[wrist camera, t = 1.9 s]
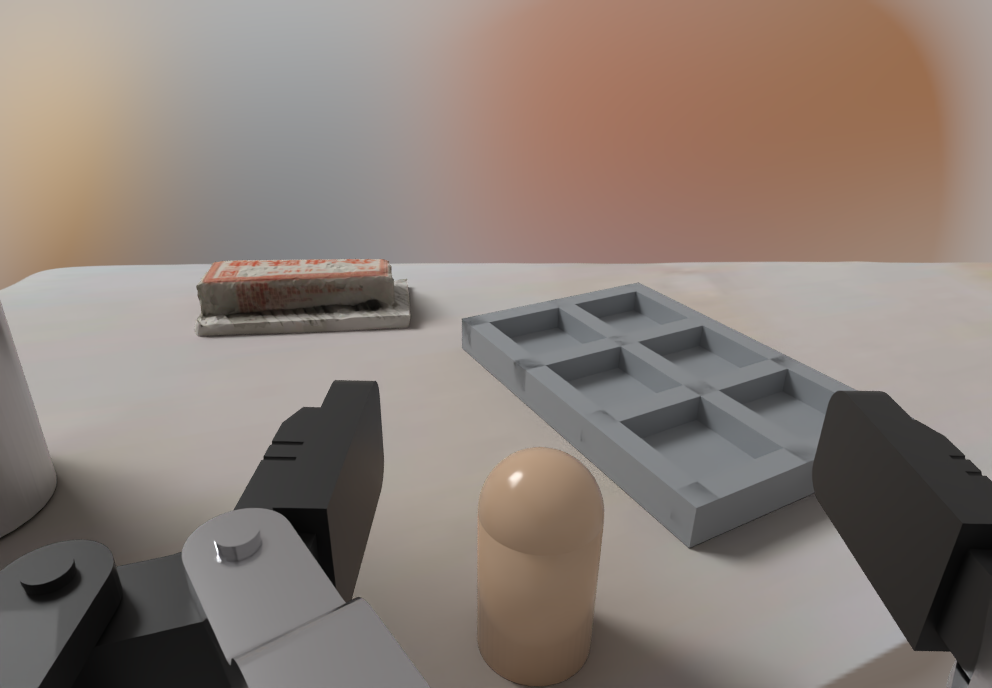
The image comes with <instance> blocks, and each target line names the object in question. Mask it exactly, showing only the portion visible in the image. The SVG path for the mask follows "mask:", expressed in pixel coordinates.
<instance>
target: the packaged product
mask: <svg viewBox="0 0 992 688" xmlns="http://www.w3.org/2000/svg"><path fill="white" fill-rule="evenodd" d="M196 287H197V290H198V298H199V300H200V305H201V314H200V316H199V317H198V319H197V320H195V329H194V330H195V333H196V335H197V336H213V335H233V334H275V333H303V332H331V331H353V330H371V329H390V328H405V327H409V322H410V317H411V314H410V307H409V302H410V299H409V290H408V284H407V279H402V280H397V281H394V279H393V278H392V273H391V265H390V264H389V261H387V260H384V259H364V260H363V259H337V260H322V259H318V260H314V259H312V260H268V261H267V260H251V261H248V260H240V261H221V262H214V263H213V264H212V266H211V268H210V269H209V271H208V272H207V273H205V275H204V276H203V277H202V279H201V281H200V282H199V283H198V285H197V286H196Z"/></svg>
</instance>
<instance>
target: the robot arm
mask: <svg viewBox="0 0 992 688" xmlns="http://www.w3.org/2000/svg"><path fill="white" fill-rule="evenodd" d="M383 472H384V452H383V437H382V423H381V409H380V395H379V387H378V384H377V382H376V381H346V380H335V381H334V382H333V383H332V385H331V387H330V389H329V391H328V393H327V395H326V397H325V399H324V401H323V404H322V406H321V407H303V408H301V409H300V410H299V411H297V412H296V413H295V414H293V415H292V416H291V417H289V418H288V419H287V420H285V421H284V422H283V423H282V424H281V426H280V428H279V430H278V431H277V433H276V435H275V437H274V439H273V440H272V445H270V446H269V448H268V449H267V451H266V453H265V455H264V459H263V460H261V462H260V464H259V465H258V467H257V469H256V471H255V473H254V474H253V476H252V478H251V480H250V482H249V483H248V485H247V487H246V489H245V491H244V492H243V494H242V496H241V498H240V500H239V501H238V503H237V505H236V507H235V508H234V510H233V511H230V512H227V513H224V514H221V515H219V516H216V517H214V518H212V519H210V520H209V521H207V522H205V523H204V524H202V525H201V526H199V527H198V528H197V529H196V530H195V531H194V532H193V533H192V534H191V535H190V536H189V537H188V539H187V540H186V542H185V544H184V546H183V550H182V552H180V553H177V554H174V555H170V556H166V557H161V558H156V559H151V560H147V561H142V562H137V563H132V564H127V565H122V566H117V567H116V565H115V562H114V558H113V555H112V553H111V551H110V550H109V549H108V547H106V546H105V545H103V544H101V543H99V542H96V541H91V540H68V541H62V542H57V543H54V544H50V545H47V546H44V547H41V548H38V549H36V550H34V551H31V552H29V553H27V554H25V555H23V556H22V557H20V558H18V559H16V560H15V561H13V562H12V563H10V564H9V565H7V566H6V567H5V568H4V569H3V570H1V571H0V688H430V686H429V685H428V683H427V682H426V681H425V679H424V678H423V677H422V675H421V674H420V673H419V671H418V670H417V668H416V667H415V666H414V664H413V663H412V662H411V660H410V659H409V658H408V656H407V655H406V653H405V652H404V651H403V649H402V648H401V647H400V645H399V644H398V642H397V641H396V640H395V638H394V637H393V636H392V634H391V633H390V632H389V630H388V629H387V627H386V626H385V625H384V623H383V622H382V621H381V619H380V618H379V616H378V615H377V614H376V612H375V611H374V610H373V608H372V607H371V606H370V605H369V604H368V603H367V602H366V601H365V600H364V599H363V598H360V597H357V598H355V599H353V600H352V596H353V592H354V589H355V585H356V581H357V577H358V574H359V570H360V566H361V563H362V559H363V555H364V552H365V548H366V544H367V540H368V537H369V533H370V529H371V526H372V522H373V518H374V515H375V511H376V507H377V503H378V500H379V496H380V492H381V488H382V482H383ZM812 482H813V488H814V492H815V495H816V497H817V499H818V501H819V503H820V504H821V506H822V508H823V509H824V511H825V512H826V514H827V515H828V517H829V519H830V520H831V522H832V523H833V525H834V526H835V528H836V529H837V531H838V533H839V534H840V536H841V537H842V539H843V540H844V542H845V544H846V545H847V547H848V548H849V550H850V551H851V553H852V554H853V556H854V558H855V559H856V561H857V562H858V564H859V565H860V567H861V569H862V570H863V572H864V573H865V575H866V576H867V578H868V580H869V581H870V583H871V584H872V586H873V587H874V589H875V590H876V592H877V594H878V595H879V597H880V598H881V600H882V601H883V603H884V605H885V606H886V608H887V609H888V611H889V612H890V614H891V616H892V617H893V619H894V620H895V622H896V623H897V625H898V626H899V628H900V630H901V631H902V633H903V634H904V636H905V637H906V639H907V641H908V642H909V644H910V645H911V647H912V648H913V650H914V651H950V652H951V653H952V654H953V655H954V657H955V658H956V661H955V663H954V665H953V667H952V670H951V672H950V675H949V677H948V681H947V686H946V688H992V481H991V480H990V479H989V478H988V477H987V476H982V474H981V471H980V470H979V469H978V468H977V467H976V466H975V465H974V464H973V463H972V462H971V461H970V460H965V455H964V454H963V453H962V452H961V451H960V450H959V449H958V448H957V447H956V446H954V445H953V444H952V443H951V442H950V441H949V440H948V439H947V438H946V437H945V436H943V435H942V434H940V433H938V432H936V431H935V430H933V429H931V428H929V427H928V426H926V425H924V424H922V423H921V422H919V421H917V420H913V419H912V418H911V417H910V416H909V415H908V414H907V413H906V412H905V411H904V410H903V409H902V408H901V407H900V406H899V405H898V404H897V403H896V402H895V401H894V400H893V399H892V398H891V397H890V396H889V395H888V394H887V393H885V392H882V391H836V392H835V393H834V394H833V395H832V396H831V398H830V400H829V403H828V407H827V411H826V415H825V418H824V422H823V426H822V430H821V434H820V438H819V442H818V446H817V450H816V454H815V458H814V462H813V468H812ZM56 485H57V475H56V472H55V469H54V466H53V463H52V460H51V457H50V454H49V450H48V447H47V444H46V441H45V438H44V435H43V432H42V429H41V426H40V423H39V419H38V415H37V412H36V409H35V406H34V403H33V400H32V397H31V394H30V391H29V388H28V385H27V381H26V378H25V375H24V372H23V369H22V366H21V363H20V360H19V357H18V354H17V350H16V347H15V344H14V341H13V338H12V335H11V332H10V329H9V326H8V323H7V319H6V316H5V313H4V310H3V307H2V304H1V301H0V538H1V537H2V536H4V535H6V534H8V533H10V532H11V531H13V530H15V529H16V528H18V527H19V526H21V525H22V524H23V523H25V522H26V521H28V520H29V519H31V518H32V517H33V516H34V515H35V514H36V513H37V512H38V511H39V510H41V509H42V508H43V507H44V506H45V504H46V503H47V502H48V500H49V499H50V498H51V496H52V495H53V492H54V490H55V487H56Z"/></svg>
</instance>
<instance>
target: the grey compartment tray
mask: <svg viewBox="0 0 992 688" xmlns="http://www.w3.org/2000/svg"><path fill="white" fill-rule="evenodd" d="M462 348H463V349H464V350H465V351H466V352H467V353H468V354H470V355H471V356H472V357H473V358H474V359H475V360H476V361H477V362H479V363H480V364H481V365H482V366H483V367H484V368H485V369H487V370H488V371H489V372H490V373H491V374H492V375H493V376H494V377H496V378H497V379H498V380H499V381H500V382H501V383H502V384H504V385H505V386H506V387H507V388H508V389H509V390H510V391H511V392H513V393H514V394H515V395H516V396H517V397H518V398H519V399H521V400H522V401H523V402H524V403H525V404H526V405H527V406H529V407H530V408H531V409H532V410H533V411H534V412H535V413H536V414H538V415H539V416H540V417H541V418H542V419H543V420H544V421H546V422H547V423H548V424H549V425H550V426H551V427H552V428H553V429H555V430H556V431H557V432H558V433H559V434H560V435H561V436H563V437H564V438H565V439H566V440H567V441H568V442H569V443H570V444H572V445H573V446H574V447H575V448H576V449H577V450H578V451H580V452H581V453H582V454H583V455H584V456H585V457H586V458H587V459H589V460H590V461H591V462H592V463H593V464H594V465H595V466H597V467H598V468H599V469H600V470H601V471H602V472H603V473H605V474H606V475H607V476H608V477H609V478H610V479H611V480H612V481H614V482H615V483H616V484H617V485H618V486H619V487H620V488H622V489H623V490H624V491H625V492H626V493H627V494H628V495H629V496H631V497H632V498H633V499H634V500H635V501H636V502H637V503H639V504H640V505H641V506H642V507H643V508H644V509H645V510H646V511H648V512H649V513H650V514H651V515H652V516H653V517H654V518H656V519H657V520H658V521H659V522H660V523H661V524H662V525H664V526H665V527H666V528H667V529H668V530H669V531H670V532H671V533H673V534H674V535H675V536H676V537H677V538H678V539H679V540H681V541H682V542H683V543H684V544H685V545H686V546H687V547H688V548H690V547H693V546H695V545H697V544H700V543H702V542H704V541H706V540H709V539H711V538H713V537H715V536H718V535H720V534H722V533H724V532H727V531H729V530H731V529H733V528H736V527H738V526H740V525H743V524H745V523H747V522H749V521H752V520H754V519H756V518H758V517H761V516H763V515H765V514H767V513H770V512H772V511H774V510H777V509H779V508H781V507H783V506H786V505H788V504H790V503H792V502H795V501H797V500H799V499H801V498H804V497H806V496H808V495H810V494H813V493H815V492H814V488H813V482H812V468H813V462H814V458H815V454H816V450H817V446H818V442H819V438H820V434H821V430H822V426H823V422H824V418H825V415H826V411H827V407H828V403H829V400H830V398H831V396H832V395H833V394H834V393H835V392H836V391H857V390H855V389H853V388H851V387H849V386H847V385H845V384H843V383H841V382H839V381H837V380H835V379H833V378H831V377H829V376H827V375H825V374H823V373H821V372H819V371H817V370H815V369H813V368H811V367H808V366H806V365H804V364H802V363H800V362H798V361H796V360H794V359H792V358H790V357H788V356H786V355H784V354H782V353H780V352H778V351H776V350H774V349H772V348H770V347H768V346H766V345H764V344H762V343H760V342H758V341H756V340H754V339H752V338H750V337H748V336H746V335H744V334H742V333H740V332H738V331H736V330H734V329H732V328H730V327H727V326H725V325H723V324H721V323H719V322H717V321H715V320H713V319H711V318H709V317H707V316H705V315H703V314H701V313H699V312H697V311H695V310H693V309H691V308H689V307H687V306H685V305H683V304H681V303H679V302H677V301H675V300H673V299H671V298H669V297H667V296H665V295H663V294H661V293H659V292H657V291H655V290H653V289H651V288H649V287H646V286H644V285H642V284H640V283H634V284H629V285H624V286H619V287H614V288H610V289H605V290H600V291H595V292H590V293H585V294H580V295H575V296H570V297H566V298H561V299H556V300H551V301H546V302H541V303H536V304H531V305H527V306H522V307H517V308H512V309H507V310H502V311H497V312H492V313H488V314H483V315H478V316H473V317H468V318H463V319H462ZM911 418H912V417H911ZM912 419H913V420H914V418H912Z"/></svg>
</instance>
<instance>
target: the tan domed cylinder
mask: <svg viewBox="0 0 992 688" xmlns="http://www.w3.org/2000/svg"><path fill="white" fill-rule="evenodd" d="M603 524H604V503H603V498H602V494H601V491H600V488H599V486H598V484H597V482H596V480H595V478H594V477H593V475H592V474H591V472H590V471H589V470H588V469H587V468H586V467H585V466H584V465H583V464H582V463H581V462H580V461H579V460H578V459H576V458H575V457H573V456H571V455H569V454H568V453H566V452H563V451H561V450H557V449H553V448H547V447H533V448H527V449H523V450H520V451H517V452H515V453H513V454H511V455H509V456H508V457H506V458H505V459H503V460H502V461H501V462H499V463H498V464H497V465H496V466H495V467H494V469H493V470H492V471H491V472H490V474H489V475H488V477H487V478H486V480H485V482H484V484H483V487H482V489H481V492H480V496H479V502H478V560H477V642H478V647H479V650H480V653H481V655H482V657H483V659H484V660H485V661H486V663H487V664H488V665H489V666H490V667H491V668H492V669H493V670H494V671H495V672H496V673H497V674H499V675H500V676H502V677H504V678H505V679H507V680H510V681H512V682H515V683H518V684H522V685H527V686H548V685H553V684H557V683H560V682H562V681H564V680H566V679H568V678H570V677H572V676H573V675H574V674H575V673H577V672H578V671H579V670H580V669H581V668H582V666H583V665H584V663H585V662H586V660H587V658H588V655H589V652H590V645H591V636H592V627H593V617H594V608H595V599H596V589H597V580H598V571H599V561H600V552H601V543H602V533H603Z"/></svg>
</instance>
